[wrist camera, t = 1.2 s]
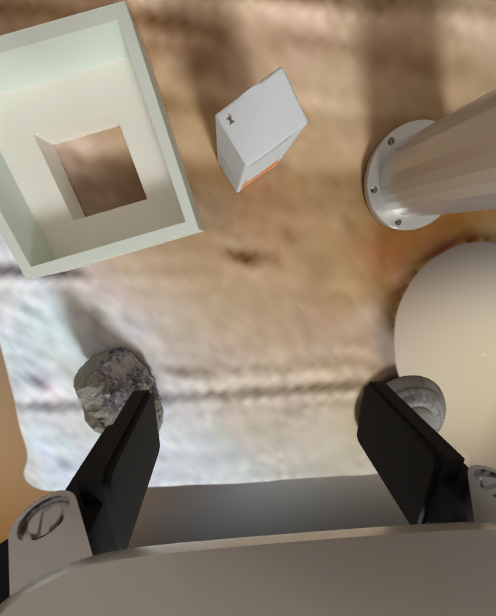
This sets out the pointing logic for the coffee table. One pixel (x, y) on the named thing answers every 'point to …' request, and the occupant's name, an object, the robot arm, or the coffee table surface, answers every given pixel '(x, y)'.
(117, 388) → the mineral rock
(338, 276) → the coffee table surface
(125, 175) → the coffee table surface
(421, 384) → the flying saucer
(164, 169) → the peg box
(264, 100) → the skincare box
